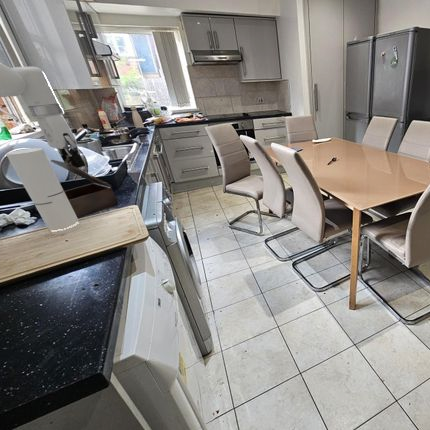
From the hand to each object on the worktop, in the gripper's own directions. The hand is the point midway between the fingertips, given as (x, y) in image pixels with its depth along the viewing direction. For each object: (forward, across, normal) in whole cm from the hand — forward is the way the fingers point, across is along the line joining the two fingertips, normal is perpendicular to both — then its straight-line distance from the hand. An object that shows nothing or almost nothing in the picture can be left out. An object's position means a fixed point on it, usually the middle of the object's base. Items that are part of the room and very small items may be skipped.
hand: (75, 165), depth 94 cm
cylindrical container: (+15, +15, -15) cm, 26 cm away
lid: (+3, 0, 0) cm, 3 cm away
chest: (+16, 0, -2) cm, 16 cm away
